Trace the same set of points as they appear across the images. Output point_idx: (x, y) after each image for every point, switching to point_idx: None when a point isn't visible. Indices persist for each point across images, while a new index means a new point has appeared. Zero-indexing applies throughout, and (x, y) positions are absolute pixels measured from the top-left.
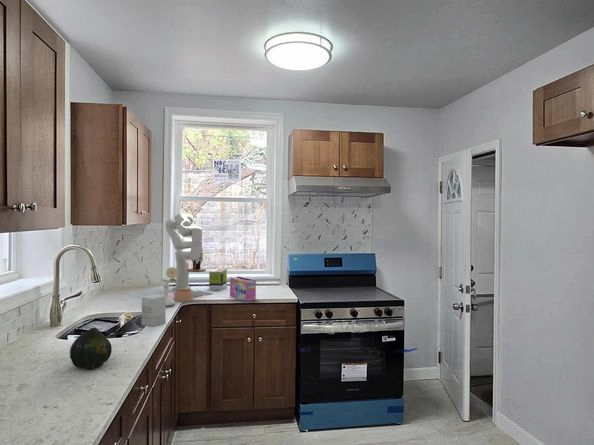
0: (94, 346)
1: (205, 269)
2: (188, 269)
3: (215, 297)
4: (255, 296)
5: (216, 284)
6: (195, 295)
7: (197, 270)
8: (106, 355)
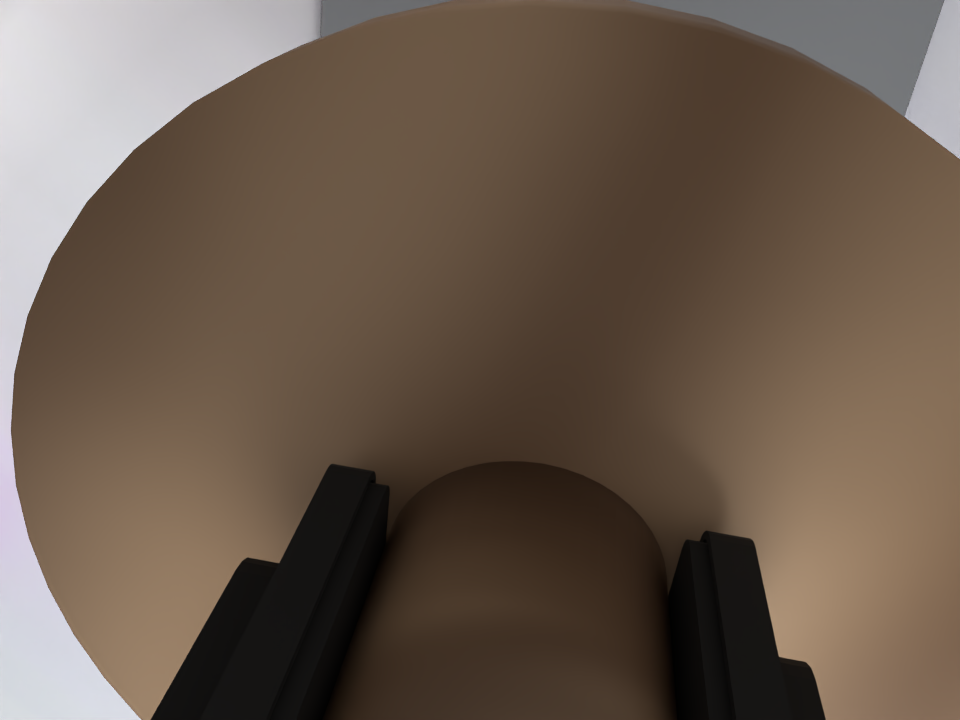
0: None
1: (137, 708)
2: (908, 268)
3: (12, 164)
4: None
5: None
6: (426, 2)
7: (62, 260)
8: None
